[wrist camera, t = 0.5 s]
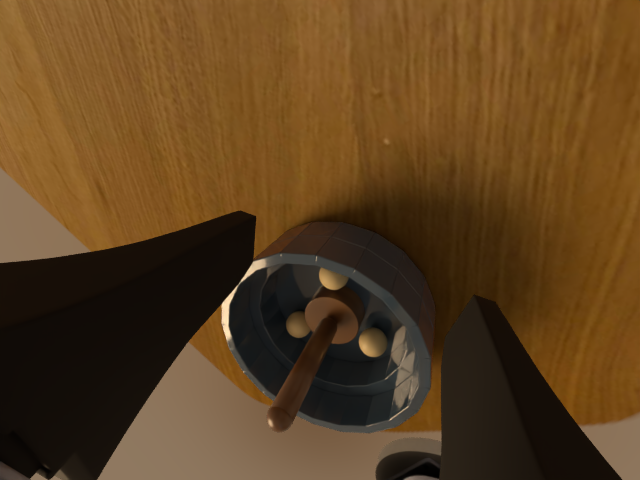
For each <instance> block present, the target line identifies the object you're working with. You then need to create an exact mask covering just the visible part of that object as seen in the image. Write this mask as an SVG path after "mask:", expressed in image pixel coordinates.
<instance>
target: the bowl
mask: <svg viewBox="0 0 640 480" xmlns="http://www.w3.org/2000/svg"><path fill="white" fill-rule="evenodd" d="M321 268H324V269H327V270H330V271H332V272H335V273H338V274H341V275H343V276H346V277H349V278H348V281H347V283H346V284H345V286H346V287H348V288H350V289H351V290H353V291H354V292H355V293H356V294H357V295H358V296H359V297H360V299H361V300H362V302H363V305H364V309H365V314H364V318H363V321H362V323H361V326H360V328H359V331H358V333H357V335H356V337H355V338H354V339H353V340H351V341H350V342H348V343H344V344H333V343H331V344H330V346H329V348H328V351H327V353H326V355H325V357H324V359H323V361H322V363H321V365H320V367H319V369H318V371H317V373H316V375H315V377H314V380H313V382H312V384H311V386H310V388H309V390H308V392H307V394H306V396H305V398H304V400H303V402H302V404H301V406H300V409H299V411H298V413H297V415H296V416H298V417H300V418H302V419H304V420H306V421H308V422H310V423H313V424H316V425H319V426H323V427H326V428H329V429H333V430H337V431H340V432H341V431H342V432H354V433H373V432H378V431H382V430H386V429H390V428H394V427H396V426H399V425H400V424H402V423H403V422H404V421H406V420H407V419H409V418H410V417H412V416H413V415H414V414H416V413H417V412H418V411H419V409H420V408H421V406H422V404H423V402H424V400H425V398H426V396H427V395H428V393H429V391H430V388H431V380H432V366H433V352H434V338H435V303H434V300H433V297H432V295H431V292H430V289H429V287H428V284H427V281H426V279H425V277H424V275H423V274H422V273H421V272H420V270H419V269H418V268H417V267H416V266H415V264H414V263H413V262H412V261H411V259H410V258H409V257H408V256H407V255H406V253H405V252H403V250H401V249H400V248H398V247H397V246H395V245H394V244H392V243H391V242H389V241H388V240H386V239H385V238H383V237H382V236H380V235H379V234H377V233H376V232H375V233H374V232H373V231H369V230H366V229H363V228H360V227H357V226H354V225H351V224H348V223H343V222H311V223H308V224H305V225H302V226H299V227H296V228H293V229H290V230H288V231H286V232H285V233H284V234H283V235H281V236H280V237H279V238H278V239H277V240H276V241H274V242H273V243H272V244H271V245H270V246H268V247H267V248H266V249H265V250H264V251H262V252H261V253H260V254H259V255H258V256H257V257H255V258H254V259H253V263H252V265H251V266H250V268H249V269H248V271H247V272H246V274H245V276H244V277H243V278H242V280H241V281H240V283H239V284H238V286H237V287H236V288H235V289H234V290H233V291H232V292H231V294H230V295H229V296H228V297H227V298H226V299H225V300H224V302H223V303H222V327H223V330H224V334H225V337H226V340H227V343H228V347H229V349H230V351H231V352H232V354H233V356H234V357H235V359H236V361H237V362H238V364H239V366H240V367H241V369H242V371H243V372H244V373H245V374H246V376H247V377H248V378H249V379H250V380H251V381H252V382H253V383H254V384H255V385H256V386H257V387H258V389H259V390H260V391H261V392H263V394H265V395H266V396H267V397H269V398H270V399H271V400H273V401H274V400H275V398H276V396H277V394H278V393H279V391H280V389H281V388H282V386H283V384H284V382H285V381H286V379H287V377H288V375H289V374H290V372H291V370H292V368H293V367H294V365H295V363H296V362H297V360H298V358H299V356H300V355H301V353H302V351H303V349H304V348H305V346H306V344H307V343H308V341H309V339H310V337H311V336H312V334H313V332H312V331H310V332H309V333H308V334H307V335H306V336H304V337H302V338H296V337H293V336H292V335H290V334H289V332H288V331H287V328H286V321H287V319H288V317H289V316H290V315H291V314H292V313H293V312H296V311H303V312H305V309H306V306H307V305H308V303H309V302H310V300H311V299H312V297H313V296H314V294H315V293H316V291H317V290H318V289H319V288H320V287H322V286H324V285H323V284H322V283H321V281H320V278H319V272H320V269H321ZM371 327H374V328H378V329H380V330H381V331H382V332H383V333H384V334H385V336H386V338H387V348H386V350H385V352H384V353H383V354H382V355H380V356H378V357H370V356H367V355H366V354H364V353H363V351H362V350H361V348H360V346H359V337H360V335H361V333H362V332H363V331H364V330H365V329H367V328H371Z"/></svg>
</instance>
